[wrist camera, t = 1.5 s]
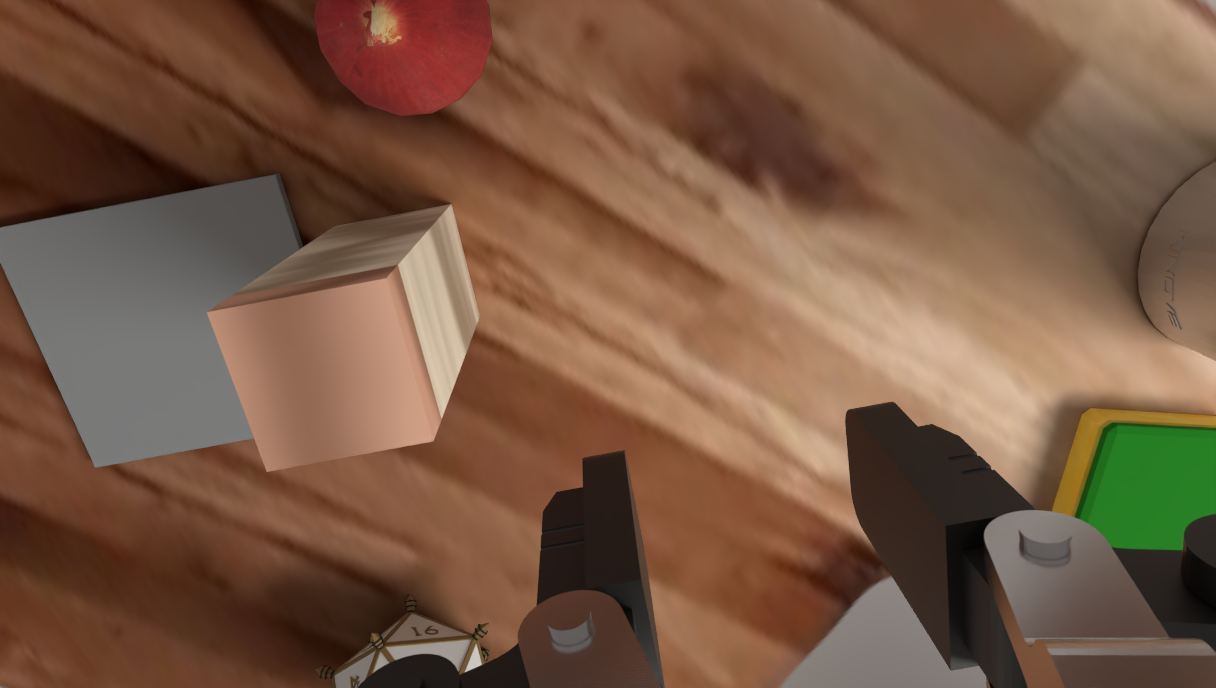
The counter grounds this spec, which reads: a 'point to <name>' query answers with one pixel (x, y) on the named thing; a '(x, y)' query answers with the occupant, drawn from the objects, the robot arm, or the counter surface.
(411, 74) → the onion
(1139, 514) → the dish sponge
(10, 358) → the counter surface
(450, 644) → the game die
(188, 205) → the mat
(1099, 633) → the robot arm
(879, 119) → the counter surface
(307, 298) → the beech block
